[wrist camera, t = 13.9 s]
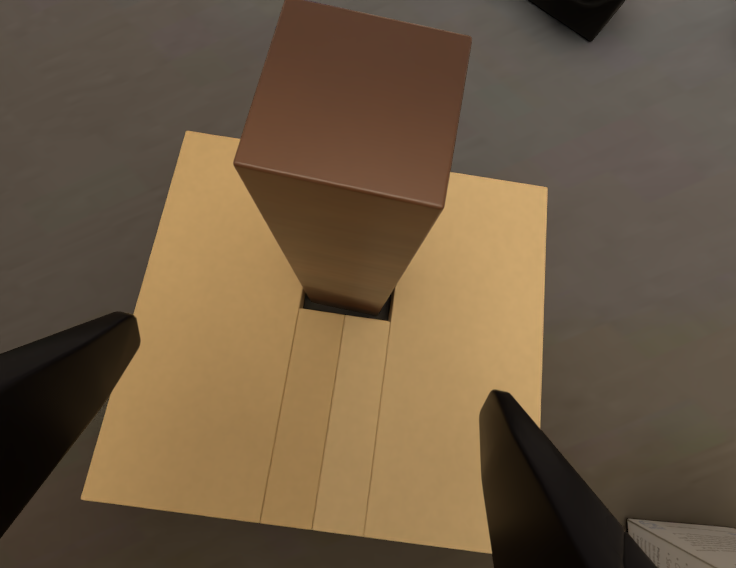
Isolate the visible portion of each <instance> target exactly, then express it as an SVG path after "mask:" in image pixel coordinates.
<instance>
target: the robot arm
mask: <svg viewBox="0 0 736 568" xmlns="http://www.w3.org/2000/svg"><path fill="white" fill-rule="evenodd" d="M140 343H141V338H140V333H139V328H138V322H137V318H136V317H135V316H134V315H133V314H129V313H124V312H113V313H110V314H108V315H105V316H102V317H100V318H97V319H94V320H91V321H89V322H86V323H83V324H81V325H78V326H75V327H72V328H70V329H67V330H64V331H62V332H59V333H56V334H53V335H51V336H48V337H45V338H43V339H40V340H37V341H34V342H32V343H29V344H26V345H23V346H21V347H18V348H15V349H13V350H10V351H7V352H4V353H2V354H0V538H1V537H2V536H3V534H4V533H5V532H6V531H7V529H8V528H9V527H10V525H11V524H12V523H13V521H14V520H15V519H16V518H17V516H18V515H19V514H20V512H21V511H22V510H23V508H24V507H25V506H26V505H27V503H28V502H29V501H30V499H31V498H32V497H33V496H34V494H35V493H36V492H37V490H38V489H39V488H40V486H41V485H42V484H43V483H44V481H45V480H46V479H47V477H48V476H49V475H50V473H51V472H52V471H53V470H54V468H55V467H56V466H57V464H58V463H59V462H60V461H61V459H62V458H63V457H64V455H65V454H66V453H67V451H68V450H69V449H70V448H71V446H72V445H73V444H74V442H75V441H76V440H77V438H78V437H79V436H80V435H81V433H82V432H83V431H84V429H85V428H86V427H87V425H88V424H89V423H90V422H91V420H92V419H93V418H94V416H95V415H96V414H97V413H98V411H99V410H100V409H101V407H102V406H103V404H104V403H105V402H106V400H107V399H108V397H109V396H110V394H111V393H112V391H113V389H114V388H115V386H116V385H117V383H118V381H119V380H120V378H121V376H122V375H123V373H124V372H125V370H126V368H127V367H128V365H129V364H130V362H131V360H132V359H133V357H134V355H135V354H136V352H137V351H138V349H139V347H140ZM479 435H480V462H481V480H482V488H483V495H484V502H485V509H486V516H487V523H488V529H489V536H490V543H491V550H492V557H493V563H494V568H658V567H657V566H656V565H655V564H654V563H653V562H652V560H651V559H650V558H649V557H648V556H647V555H646V554H645V552H644V551H643V550H642V549H641V548H640V546H639V545H638V544H637V543H636V542H635V541H634V539H633V538H632V537H631V536H630V535H629V533H627V532H624V528H623V527H622V525H621V524H620V523H619V522H618V521H617V519H616V518H615V517H614V516H613V515H612V513H611V512H610V511H609V510H608V509H607V508H606V506H605V505H604V504H603V503H602V502H601V500H600V499H599V498H598V497H597V496H596V494H595V493H594V492H593V491H592V490H591V489H590V487H589V486H588V485H587V484H586V483H585V481H584V480H583V479H582V478H581V477H580V475H579V474H578V473H577V472H576V471H575V470H574V468H573V467H572V466H571V465H570V464H569V462H568V461H567V460H566V459H565V458H564V456H563V455H562V454H561V453H560V452H559V451H558V449H557V448H556V447H555V446H554V445H553V443H552V442H551V441H550V440H549V439H548V437H547V436H546V435H545V434H544V433H543V432H542V430H541V429H540V428H539V427H538V426H537V424H536V423H535V422H534V421H533V420H532V418H531V417H530V416H529V415H528V414H527V413H526V411H525V410H524V409H523V408H522V407H521V405H520V404H519V403H518V402H517V401H516V400H515V398H514V397H513V396H512V395H511V394H510V393H509V392H506V391H501V390H497V389H493V390H492V391H490V393H489V395H488V397H487V399H486V400H485V402H484V404H483V406H482V408H481V410H480V414H479Z"/></svg>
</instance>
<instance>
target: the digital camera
mask: <svg viewBox="0 0 736 568" xmlns="http://www.w3.org/2000/svg"><path fill="white" fill-rule="evenodd" d="M530 1H531V2H533V3H534V4H536V5H537V6H539V7H540V8H542V9H543V10H545V11H546V12H547V13H549V14H550V15H552V16H553V17H555V18H556V19H558V20H559V21H561V22H562V23H564V24H565V25H567V26H568V27H570V28H571V29H573V30H574V31H576V32H577V33H579V34H580V35H582V36H583V37H585V38H586V39H588V40H589V41H593V40H594V38H595V37H596V36H597V35H598V33H599V32H600V31H601V30H602V28H603V27H604V26H605V25H606V24H607V22H608V21H609V20H610V19H611V18H612V16H613V15H614V14H615V13H616V12H617V10H618V9H619V8H620V7H621V5H622V4H623V3H624V2H625V0H530Z"/></svg>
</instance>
